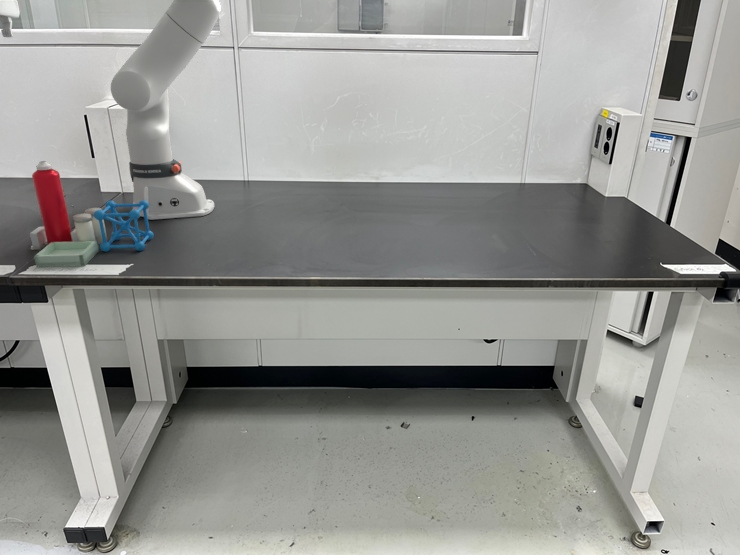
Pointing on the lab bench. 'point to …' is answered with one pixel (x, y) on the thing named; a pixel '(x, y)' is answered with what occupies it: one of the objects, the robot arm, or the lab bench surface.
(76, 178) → the lab bench surface
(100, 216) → the molecular structure
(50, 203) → the bottle
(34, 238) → the assorted small pieces
